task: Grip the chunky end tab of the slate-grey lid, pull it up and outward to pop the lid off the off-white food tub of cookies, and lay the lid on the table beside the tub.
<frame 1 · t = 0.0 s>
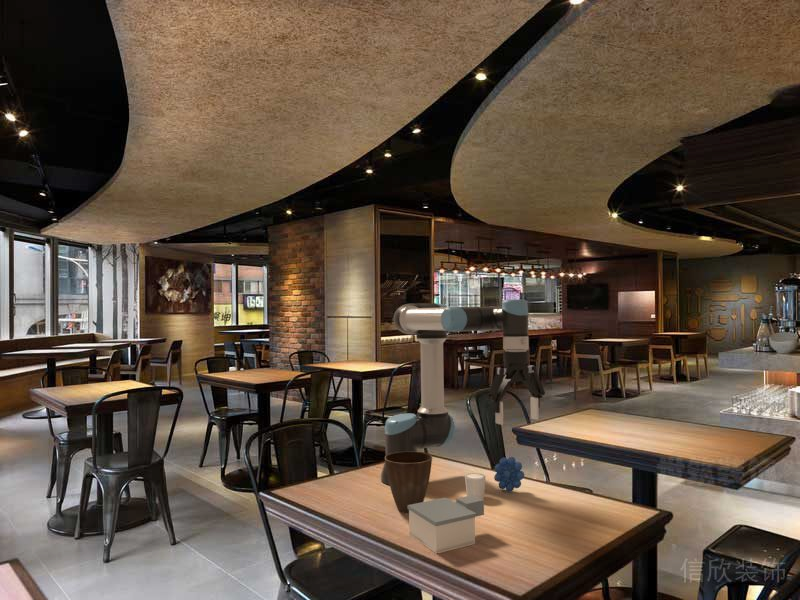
hand: (517, 421, 164), 28 cm above the table, tool pointing down, fingers open, 13 cm apart
lid: (441, 512, 148), point 7 cm above the table, touching tub
beige cup: (475, 497, 181), on the table
grapes: (510, 491, 187), on the table
tub: (441, 539, 147), on the table
plant pot: (409, 509, 171), on the table
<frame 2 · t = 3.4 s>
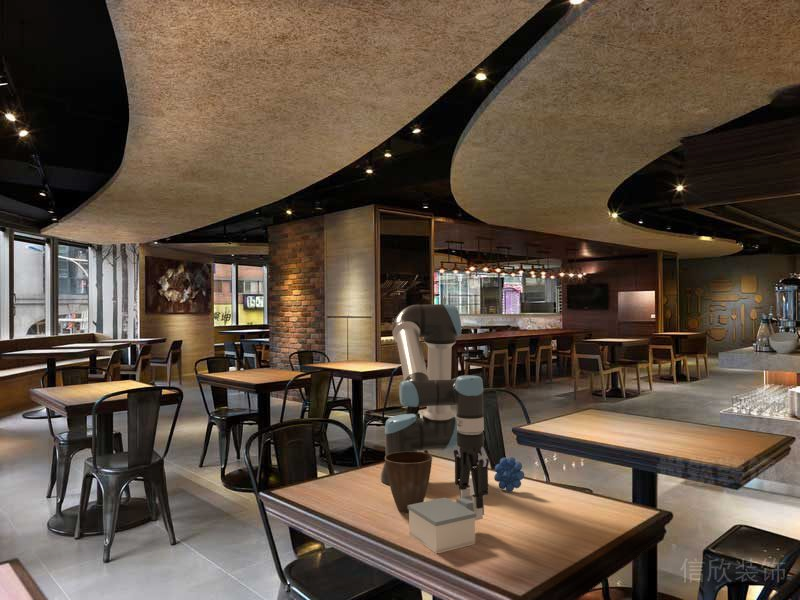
hand: (471, 515, 152), 4 cm above the table, tool pointing down, fingers closed on lid, 5 cm apart
lid: (441, 512, 148), point 7 cm above the table, touching gripper, tub
everything else where it was.
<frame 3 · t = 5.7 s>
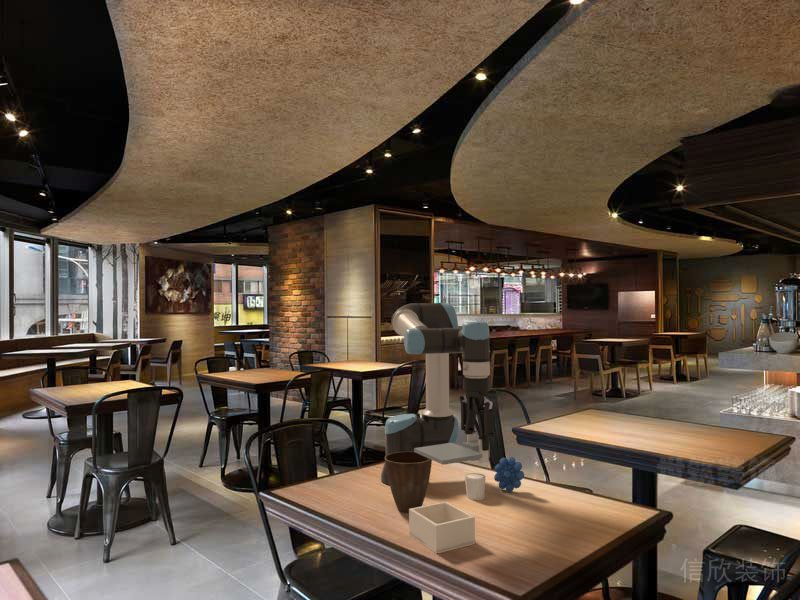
hand: (477, 459, 154), 20 cm above the table, tool pointing down, fingers closed on lid, 5 cm apart
lid: (447, 454, 149), point 22 cm above the table, touching gripper
everything else where it was.
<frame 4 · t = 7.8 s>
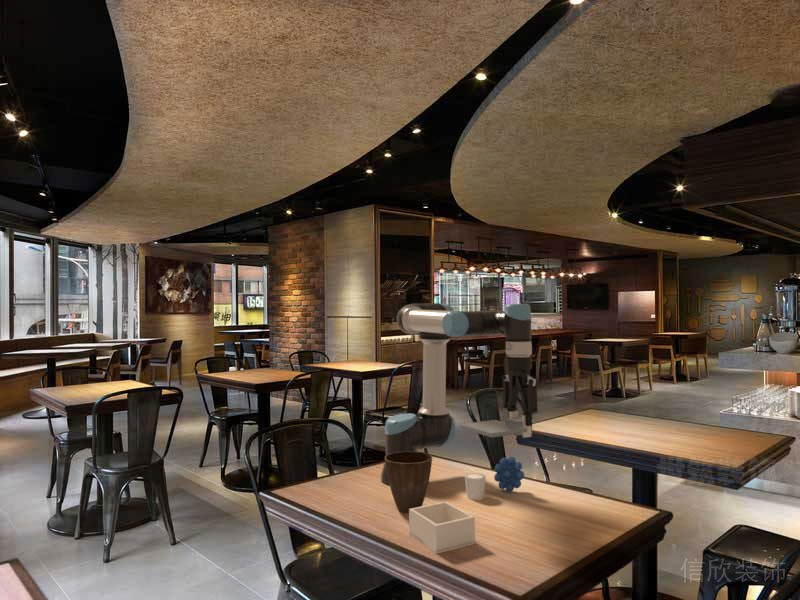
hand: (520, 434, 161), 25 cm above the table, tool pointing down, fingers closed on lid, 5 cm apart
lid: (492, 429, 157), point 27 cm above the table, touching gripper
everything else where it was.
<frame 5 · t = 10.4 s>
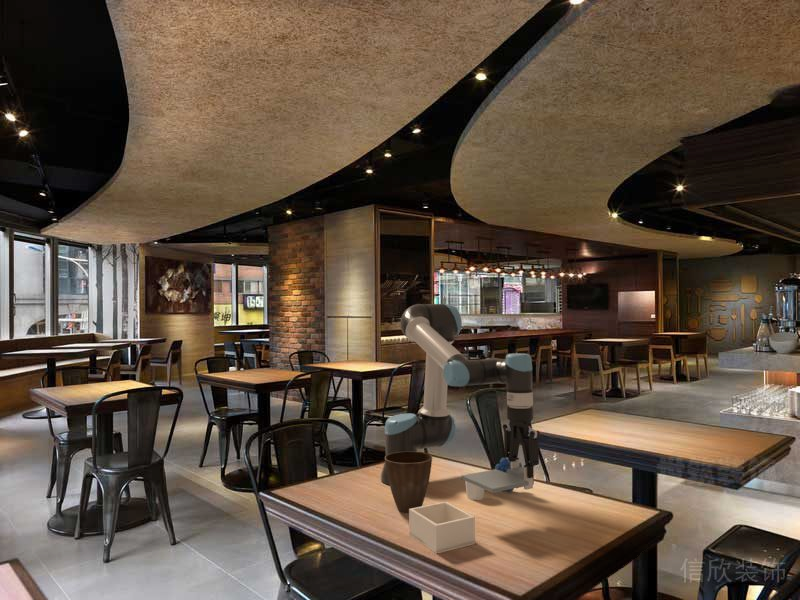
hand: (521, 485, 161), 10 cm above the table, tool pointing down, fingers closed on lid, 5 cm apart
lid: (494, 482, 156), point 12 cm above the table, touching gripper
everything else where it was.
when the fingers open (3 cm above the table, at t = 12.6 s): lid drops 4 cm, point 1 cm above the table.
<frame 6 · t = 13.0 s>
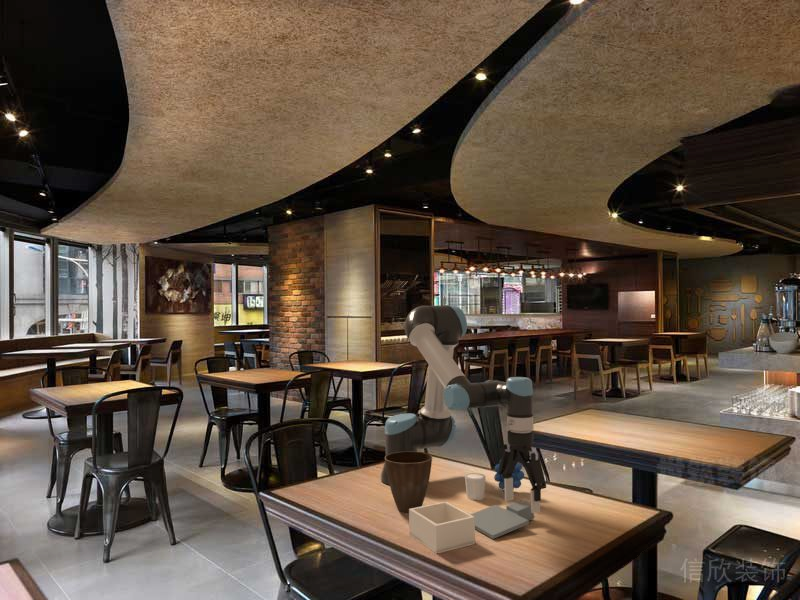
hand: (521, 505, 161), 4 cm above the table, tool pointing down, fingers open, 11 cm apart
lid: (494, 522, 156), point 1 cm above the table, tilted 7°
everything else where it was.
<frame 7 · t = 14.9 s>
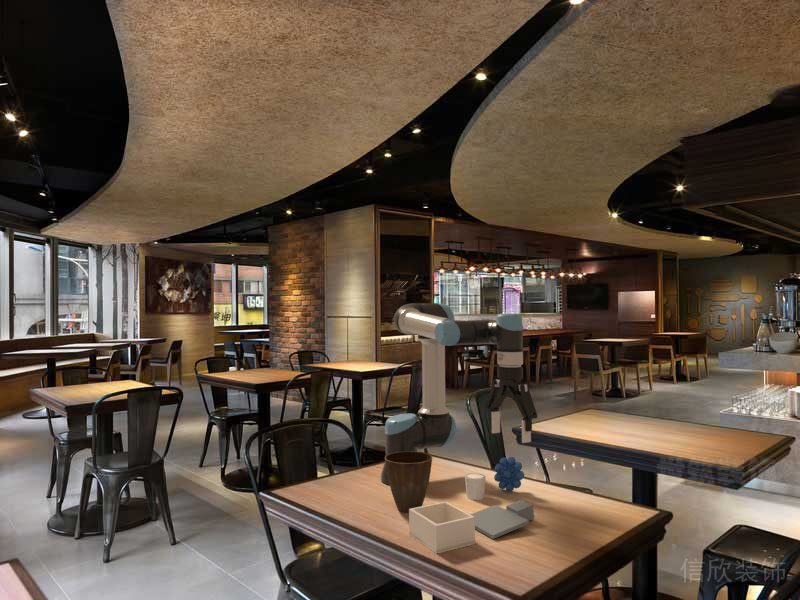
hand: (510, 437, 162), 24 cm above the table, tool pointing down, fingers open, 13 cm apart
nothing on the table moved.
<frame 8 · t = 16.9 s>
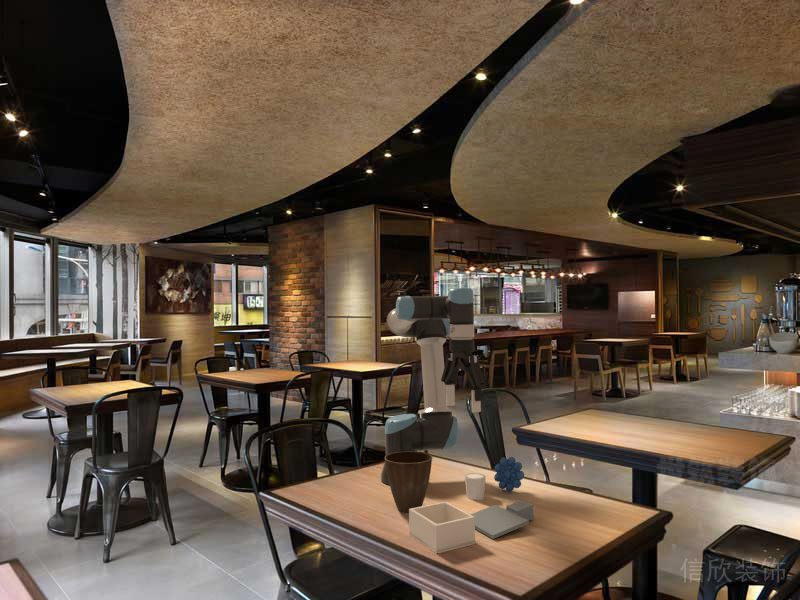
hand: (463, 408, 166), 32 cm above the table, tool pointing down, fingers open, 13 cm apart
nothing on the table moved.
at the end: lid inside the target area (2.6 cm from its centre), point 1.1 cm above the table; lid touching table; the gripper is holding nothing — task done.
